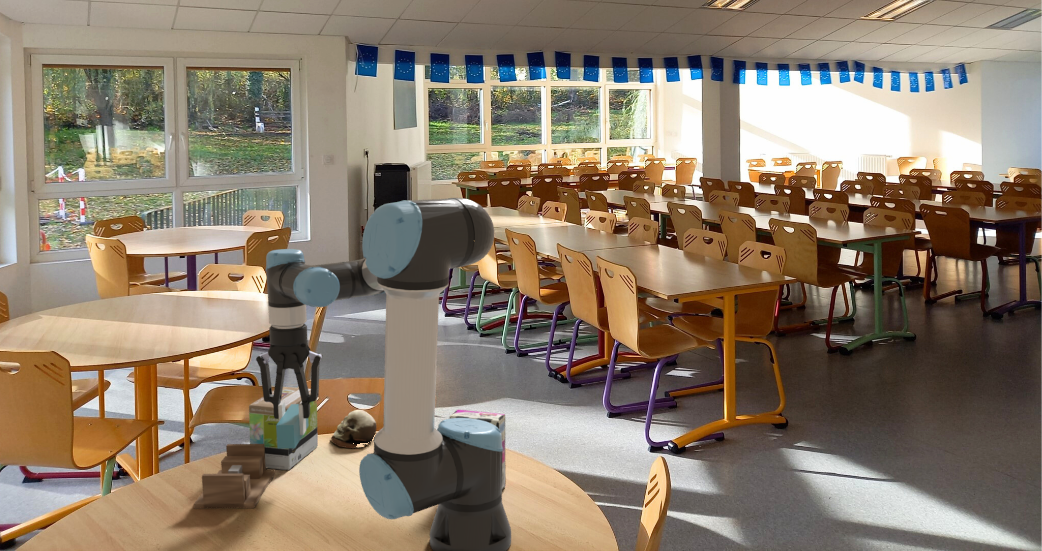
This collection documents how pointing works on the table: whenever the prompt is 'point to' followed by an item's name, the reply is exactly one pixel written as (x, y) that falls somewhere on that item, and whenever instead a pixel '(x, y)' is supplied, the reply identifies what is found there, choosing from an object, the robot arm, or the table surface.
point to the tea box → (267, 433)
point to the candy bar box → (493, 419)
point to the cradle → (236, 479)
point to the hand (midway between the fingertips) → (293, 432)
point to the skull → (355, 429)
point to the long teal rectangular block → (289, 428)
